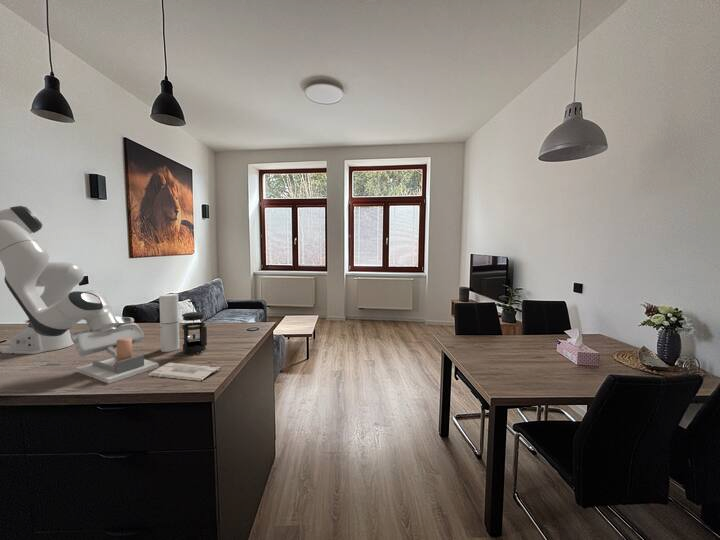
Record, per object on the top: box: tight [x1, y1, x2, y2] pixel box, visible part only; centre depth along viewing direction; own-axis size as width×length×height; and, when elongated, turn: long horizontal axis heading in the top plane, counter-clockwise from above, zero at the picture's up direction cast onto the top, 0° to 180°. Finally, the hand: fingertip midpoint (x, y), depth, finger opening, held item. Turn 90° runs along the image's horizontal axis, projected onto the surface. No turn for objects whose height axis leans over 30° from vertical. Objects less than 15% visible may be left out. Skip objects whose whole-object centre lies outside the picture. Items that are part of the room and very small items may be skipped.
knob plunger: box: [113, 338, 133, 367], centre depth 107 cm, size 5×5×10 cm
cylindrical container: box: [158, 293, 180, 353], centre depth 132 cm, size 7×7×25 cm
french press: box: [181, 299, 208, 355], centre depth 130 cm, size 12×9×23 cm
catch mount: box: [76, 354, 160, 385], centre depth 109 cm, size 22×16×6 cm
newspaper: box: [147, 362, 222, 381], centre depth 108 cm, size 23×12×2 cm, turn 79°
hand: (119, 356), depth 108 cm, fingers closed, pressing on knob plunger
